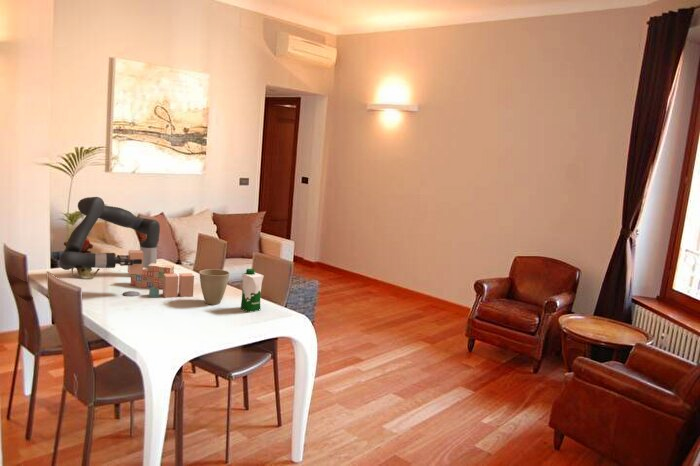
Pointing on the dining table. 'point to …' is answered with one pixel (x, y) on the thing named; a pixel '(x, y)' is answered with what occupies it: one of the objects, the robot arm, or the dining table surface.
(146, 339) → the dining table surface
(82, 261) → the robot arm
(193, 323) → the dining table surface
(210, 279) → the plant pot
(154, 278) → the stack of blocks
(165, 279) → the salmon rectangular block
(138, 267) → the salmon pink rectangular block
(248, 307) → the milk carton
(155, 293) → the green cube
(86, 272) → the stuffed monkey
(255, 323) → the dining table surface
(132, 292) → the grey round disc
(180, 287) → the peach rectangular block
